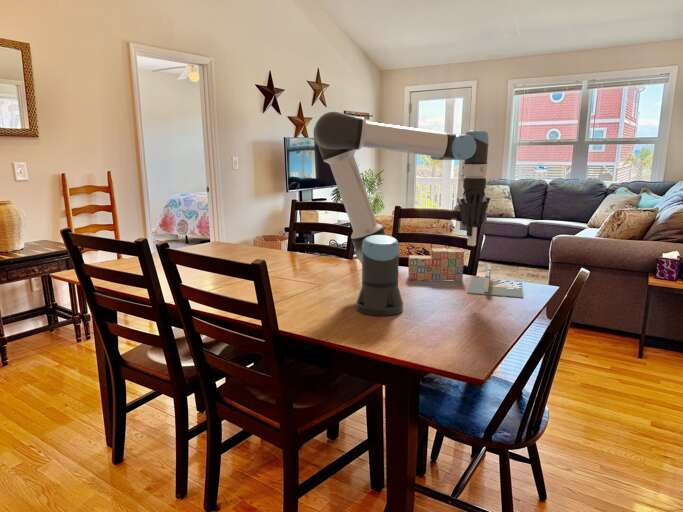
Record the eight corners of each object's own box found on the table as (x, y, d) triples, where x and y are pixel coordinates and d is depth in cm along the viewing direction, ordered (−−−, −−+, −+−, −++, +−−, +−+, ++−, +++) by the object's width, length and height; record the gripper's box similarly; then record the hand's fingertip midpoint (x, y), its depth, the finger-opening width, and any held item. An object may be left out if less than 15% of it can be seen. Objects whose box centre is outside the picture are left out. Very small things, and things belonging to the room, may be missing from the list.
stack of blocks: (408, 280, 192) (409, 250, 190) (408, 277, 198) (408, 247, 196) (462, 281, 190) (464, 251, 188) (460, 277, 196) (461, 248, 194)
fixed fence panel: (489, 286, 183) (490, 269, 182) (485, 285, 183) (486, 268, 182) (490, 280, 191) (491, 264, 190) (486, 280, 192) (487, 263, 191)
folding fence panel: (488, 292, 172) (489, 275, 171) (483, 292, 172) (484, 275, 171) (489, 284, 182) (490, 269, 181) (484, 284, 183) (485, 268, 182)
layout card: (522, 298, 167) (523, 296, 167) (467, 293, 173) (467, 292, 173) (521, 282, 188) (521, 281, 188) (471, 278, 194) (471, 277, 194)
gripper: (467, 178, 157) (464, 248, 161) (497, 177, 162) (493, 245, 167) (452, 177, 163) (449, 245, 168) (482, 176, 169) (478, 242, 174)
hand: (471, 245), depth 167 cm, fingers closed
